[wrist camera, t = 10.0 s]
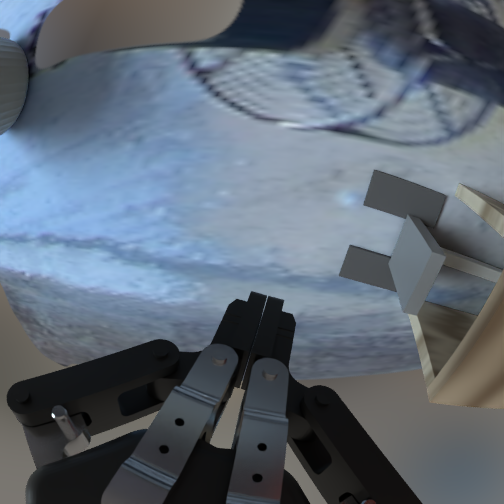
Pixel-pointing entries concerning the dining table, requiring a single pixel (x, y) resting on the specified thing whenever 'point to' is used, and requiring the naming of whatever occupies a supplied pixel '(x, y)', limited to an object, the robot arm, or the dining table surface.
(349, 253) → the plate
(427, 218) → the pit pad
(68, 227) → the dining table surface
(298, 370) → the dining table surface
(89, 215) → the dining table surface
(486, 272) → the grey elongated piece
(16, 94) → the canister
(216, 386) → the robot arm
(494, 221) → the tunnel
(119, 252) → the dining table surface
